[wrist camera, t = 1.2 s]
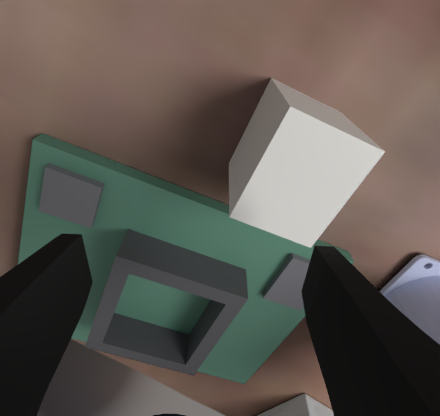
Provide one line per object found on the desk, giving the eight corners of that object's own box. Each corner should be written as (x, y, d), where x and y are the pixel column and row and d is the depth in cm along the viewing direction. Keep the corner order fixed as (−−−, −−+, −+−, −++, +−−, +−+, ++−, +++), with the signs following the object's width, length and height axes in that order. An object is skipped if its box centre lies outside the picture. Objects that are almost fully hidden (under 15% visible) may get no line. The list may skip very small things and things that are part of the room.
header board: (348, 251, 21) (368, 291, 18) (243, 373, 29) (245, 414, 26) (42, 133, 17) (3, 158, 14) (18, 311, 25) (-10, 352, 22)
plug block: (339, 111, 16) (385, 151, 11) (288, 190, 19) (308, 250, 14) (271, 77, 15) (290, 106, 11) (227, 165, 18) (227, 219, 13)
